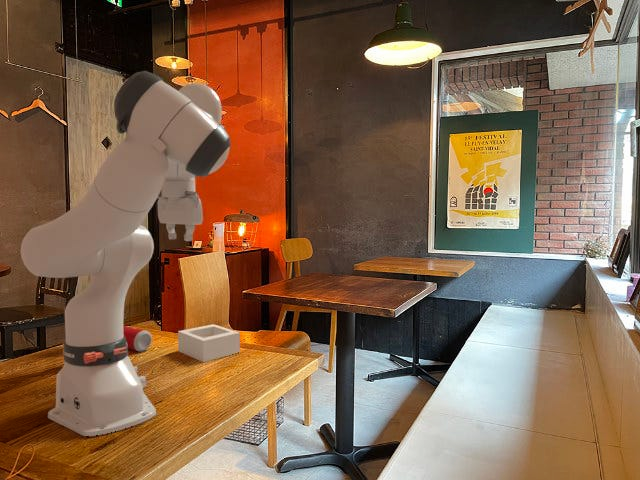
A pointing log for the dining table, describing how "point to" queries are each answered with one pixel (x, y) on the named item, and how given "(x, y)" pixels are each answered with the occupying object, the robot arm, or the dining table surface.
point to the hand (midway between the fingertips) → (180, 240)
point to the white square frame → (208, 342)
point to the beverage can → (137, 338)
